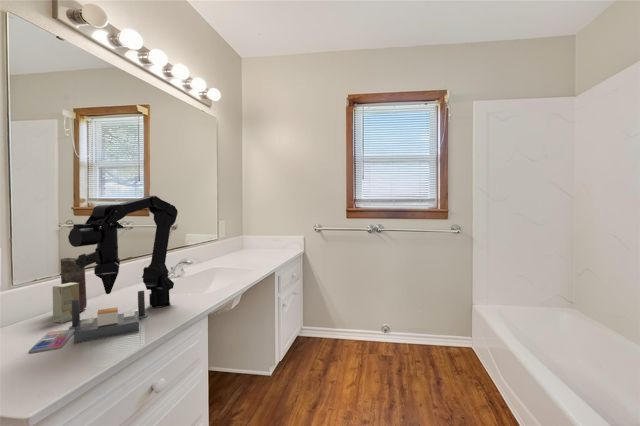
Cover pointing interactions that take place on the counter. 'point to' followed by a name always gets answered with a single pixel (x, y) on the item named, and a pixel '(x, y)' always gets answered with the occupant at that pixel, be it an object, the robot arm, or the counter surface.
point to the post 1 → (75, 313)
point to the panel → (106, 327)
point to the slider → (107, 316)
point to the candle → (74, 278)
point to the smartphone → (52, 341)
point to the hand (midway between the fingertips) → (108, 290)
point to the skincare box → (64, 301)
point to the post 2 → (141, 305)
